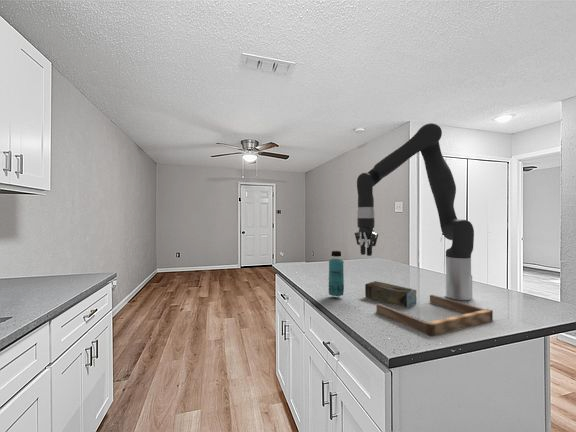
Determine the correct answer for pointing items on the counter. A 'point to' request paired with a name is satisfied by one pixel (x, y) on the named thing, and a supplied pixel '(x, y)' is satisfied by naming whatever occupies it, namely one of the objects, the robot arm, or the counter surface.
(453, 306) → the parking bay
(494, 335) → the counter surface
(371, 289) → the beverage carton
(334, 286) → the beverage bottle
